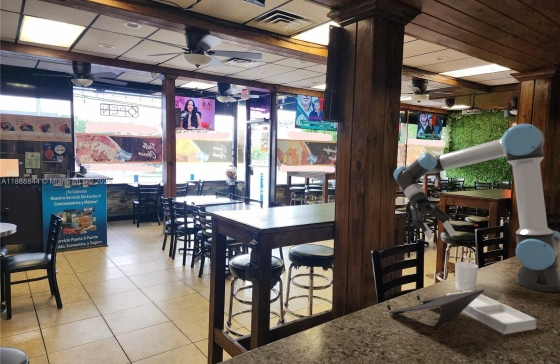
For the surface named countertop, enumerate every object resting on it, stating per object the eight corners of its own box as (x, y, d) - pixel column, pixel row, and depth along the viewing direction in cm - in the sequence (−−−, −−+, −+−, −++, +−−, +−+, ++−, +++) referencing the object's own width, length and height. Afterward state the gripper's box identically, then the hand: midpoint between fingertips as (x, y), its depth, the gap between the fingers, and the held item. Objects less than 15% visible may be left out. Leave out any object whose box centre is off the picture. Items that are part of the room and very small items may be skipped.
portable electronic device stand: (432, 319, 130) (423, 293, 133) (493, 312, 112) (481, 282, 115) (388, 336, 117) (379, 307, 120) (450, 332, 99) (437, 297, 102)
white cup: (479, 294, 138) (480, 268, 137) (457, 292, 140) (458, 266, 139) (472, 286, 146) (474, 262, 145) (451, 285, 147) (452, 261, 147)
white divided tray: (472, 298, 134) (472, 290, 134) (536, 328, 111) (536, 319, 110) (444, 301, 130) (444, 293, 130) (503, 334, 107) (504, 324, 107)
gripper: (430, 200, 172) (456, 238, 160) (390, 202, 161) (415, 243, 149) (440, 190, 167) (468, 228, 155) (400, 191, 156) (426, 233, 144)
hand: (442, 236), depth 152 cm, fingers open, 13 cm apart
